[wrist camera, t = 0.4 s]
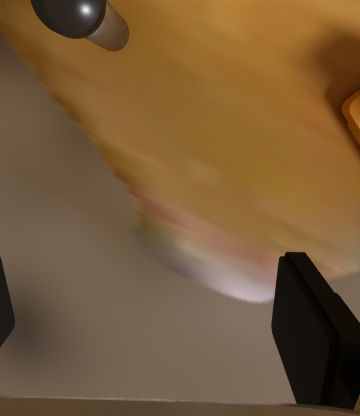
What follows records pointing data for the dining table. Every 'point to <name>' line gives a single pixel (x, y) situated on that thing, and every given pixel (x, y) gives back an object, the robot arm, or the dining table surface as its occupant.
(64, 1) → the steel peg
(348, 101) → the bracket
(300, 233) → the dining table surface
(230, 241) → the dining table surface
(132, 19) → the dining table surface
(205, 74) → the dining table surface
